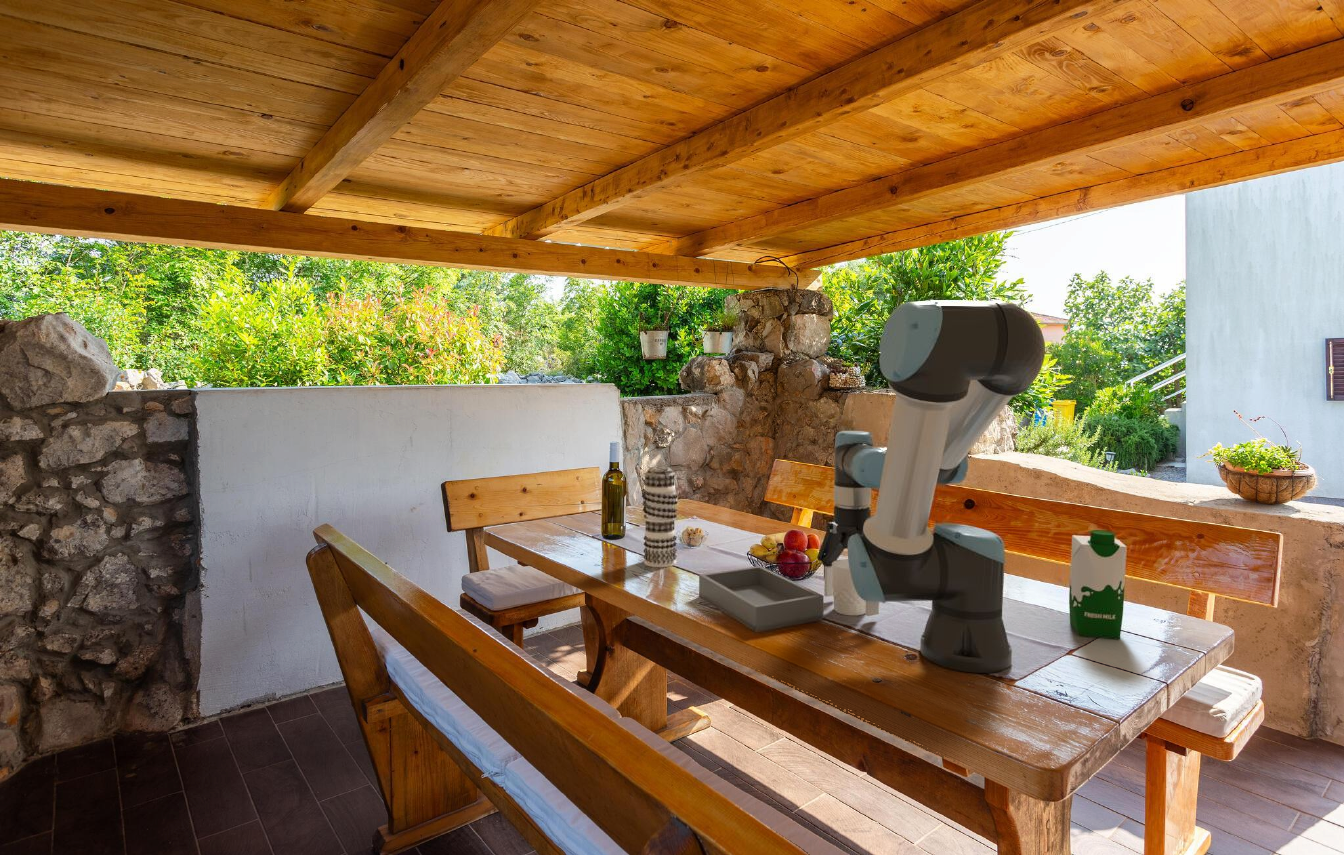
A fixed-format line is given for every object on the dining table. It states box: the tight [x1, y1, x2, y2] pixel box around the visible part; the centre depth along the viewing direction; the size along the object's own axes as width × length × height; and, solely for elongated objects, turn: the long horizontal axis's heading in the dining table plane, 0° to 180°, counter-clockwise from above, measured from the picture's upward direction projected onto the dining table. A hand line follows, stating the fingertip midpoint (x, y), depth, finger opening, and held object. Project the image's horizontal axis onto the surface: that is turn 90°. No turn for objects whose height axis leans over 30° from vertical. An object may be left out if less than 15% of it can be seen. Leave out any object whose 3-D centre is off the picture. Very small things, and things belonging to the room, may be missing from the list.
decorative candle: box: [641, 466, 678, 568], centre depth 191 cm, size 9×9×25 cm
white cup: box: [832, 558, 866, 616], centre depth 155 cm, size 8×8×10 cm
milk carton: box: [1068, 529, 1128, 640], centre depth 142 cm, size 9×9×20 cm
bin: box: [698, 565, 825, 633], centre depth 157 cm, size 24×16×5 cm, turn 25°
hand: (850, 604), depth 155 cm, fingers open, 13 cm apart
